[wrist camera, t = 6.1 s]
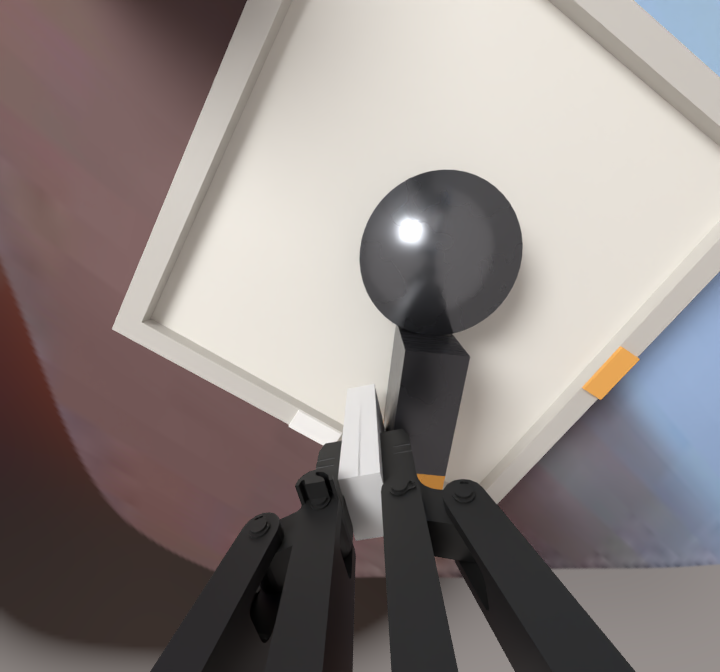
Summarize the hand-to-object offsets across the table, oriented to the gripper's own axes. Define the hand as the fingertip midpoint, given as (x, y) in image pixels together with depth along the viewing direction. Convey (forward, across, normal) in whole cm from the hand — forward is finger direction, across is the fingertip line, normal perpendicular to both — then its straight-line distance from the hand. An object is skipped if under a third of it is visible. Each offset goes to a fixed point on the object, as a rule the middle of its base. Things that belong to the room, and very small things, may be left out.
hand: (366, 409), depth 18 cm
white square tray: (+4, +5, +7) cm, 9 cm away
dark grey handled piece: (+1, +4, +4) cm, 5 cm away
